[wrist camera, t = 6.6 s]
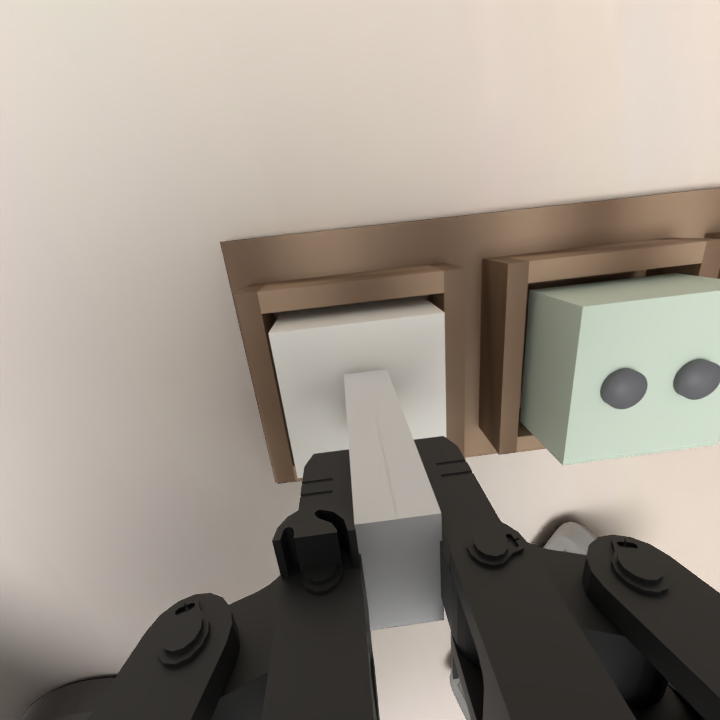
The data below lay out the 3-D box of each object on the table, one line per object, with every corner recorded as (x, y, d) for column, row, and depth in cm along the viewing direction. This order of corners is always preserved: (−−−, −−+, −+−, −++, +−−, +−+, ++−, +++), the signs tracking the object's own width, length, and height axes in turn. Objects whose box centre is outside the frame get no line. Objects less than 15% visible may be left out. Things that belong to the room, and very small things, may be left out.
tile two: (520, 421, 16) (567, 470, 13) (529, 289, 14) (589, 308, 11) (646, 405, 16) (726, 449, 13) (674, 273, 14) (778, 286, 11)
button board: (277, 472, 19) (267, 517, 16) (225, 241, 15) (199, 244, 12) (801, 404, 20) (883, 434, 17) (892, 169, 16) (1022, 155, 13)
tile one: (303, 434, 17) (296, 483, 14) (281, 312, 15) (266, 335, 12) (426, 418, 17) (449, 463, 14) (422, 295, 15) (447, 314, 12)
